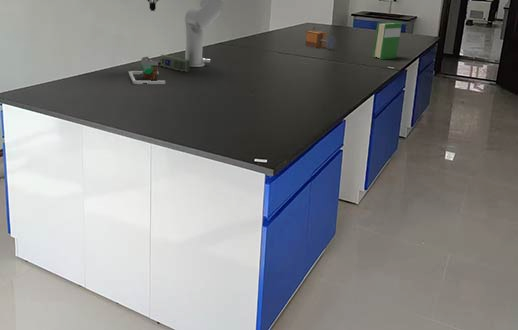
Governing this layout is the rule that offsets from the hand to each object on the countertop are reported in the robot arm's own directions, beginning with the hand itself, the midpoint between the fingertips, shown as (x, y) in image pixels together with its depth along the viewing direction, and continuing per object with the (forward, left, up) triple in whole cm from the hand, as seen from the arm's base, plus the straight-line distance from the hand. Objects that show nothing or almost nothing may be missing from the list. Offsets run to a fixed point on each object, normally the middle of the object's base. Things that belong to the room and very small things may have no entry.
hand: (152, 10), depth 302 cm
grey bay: (+7, +30, -30) cm, 43 cm away
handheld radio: (-10, +4, -31) cm, 32 cm away
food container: (+7, +30, -30) cm, 43 cm away
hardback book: (-168, -37, -30) cm, 175 cm away
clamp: (-135, -73, -31) cm, 156 cm away
